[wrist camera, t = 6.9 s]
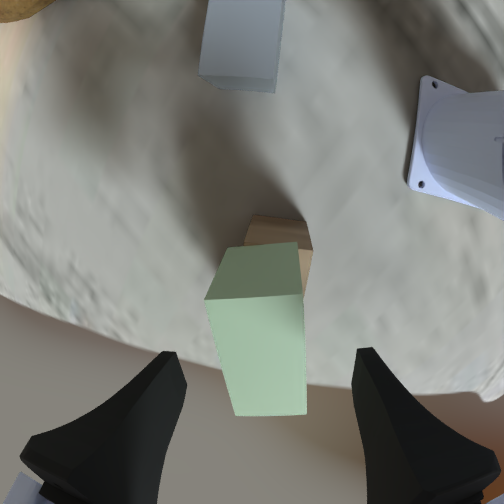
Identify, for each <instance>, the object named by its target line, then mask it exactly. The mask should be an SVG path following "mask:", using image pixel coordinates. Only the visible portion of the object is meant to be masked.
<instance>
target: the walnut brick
mask: <svg viewBox="0 0 504 504" xmlns="http://www.w3.org/2000/svg"><path fill="white" fill-rule="evenodd" d="M287 242H297V245H298V253H299V262H300V271H301V280H302V289H303V298H304V294H305V289H306V284H307V279H308V275H309V270H310V265H311V260H312V255H313V248H312V243H311V239H310V235H309V231H308V227H307V223H306V222H305V221H298V220H291V219H283V218H276V217H268V216H260V215H253V217H252V219H251V222H250V225H249V228H248V231H247V234H246V237H245V240H244V244H243V246H252V245H264V244H275V243H287Z"/></svg>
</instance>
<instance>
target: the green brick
mask: <svg viewBox="0 0 504 504" xmlns="http://www.w3.org/2000/svg"><path fill="white" fill-rule="evenodd" d="M204 302H205V306H206V310H207V314H208V318H209V322H210V326H211V330H212V334H213V338H214V341H215V345H216V349H217V353H218V356H219V360H220V364H221V367H222V371H223V374H224V377H225V381H226V385H227V388H228V391H229V395H230V399H231V402H232V405H233V409H234V412H235V415H236V416H280V415H281V416H283V415H302V414H307V409H306V408H307V405H306V404H307V401H306V400H307V399H306V352H305V325H304V304H303V289H302V280H301V271H300V262H299V253H298V245H297V242H287V243H275V244H264V245H252V246H240V247H229V248H227V250H226V252H225V254H224V257H223V259H222V261H221V263H220V266H219V268H218V270H217V272H216V274H215V277H214V279H213V281H212V283H211V286H210V288H209V290H208V292H207V295H206V297H205V299H204Z"/></svg>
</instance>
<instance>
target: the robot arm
mask: <svg viewBox="0 0 504 504" xmlns="http://www.w3.org/2000/svg"><path fill="white" fill-rule="evenodd" d="M432 82H434V83H435V85H436V87H435V88H434V87H433V86H432ZM420 181H422V186H421V187H419V186H418V183H419V182H420ZM407 185H408V187H409V188H410V189H412V190H415V191H419V192H423V193H427V194H431V195H435V196H438V197H442V198H446V199H449V200H453V201H456V202H460V203H463V204H467V205H470V206H473V207H476V208H480V209H483V210H485V211H486V212H488V213H490V214H492V215H494V216H496V217H497V218H499V219H501V220H503V221H504V90H501V91H487V92H476V93H468V92H466V91H464V90H462V89H459V88H457V87H455V86H453V85H450V84H448V83H446V82H443V81H441V80H438V79H436V78H433V77H431V76H427V75H426V76H423V77H422V78H421V80H420V91H419V102H418V112H417V120H416V128H415V136H414V143H413V149H412V155H411V161H410V167H409V172H408V178H407ZM351 385H352V394H353V402H354V408H355V412H356V417H357V421H358V426H359V430H360V434H361V439H362V443H363V448H364V455H365V463H366V476H367V504H481V501H480V500H482V499H483V497H484V496H483V492H482V490H483V489H485V488H486V487H487V486H488V485H489V484H491V483H492V482H493V481H494V480H495V479H496V478H497V477H498V476H499V475H500V473H501V469H500V466H499V463H498V460H497V457H496V455H495V453H494V451H492V450H490V449H488V448H486V447H484V446H481V445H479V444H477V443H475V442H473V441H471V440H469V439H467V438H466V437H464V436H462V435H460V434H459V433H457V432H456V431H454V430H453V429H451V428H450V427H448V426H447V425H445V424H444V423H443V422H441V421H440V420H439V419H437V418H436V417H435V416H434V415H433V414H431V413H430V412H429V411H428V410H427V409H425V407H423V406H422V405H421V404H420V403H419V402H418V401H417V400H416V399H415V398H414V397H413V396H412V395H411V394H410V393H409V391H408V390H407V389H406V388H405V387H404V386H403V385H402V384H401V382H400V381H399V380H398V379H397V378H396V377H395V375H394V374H393V373H392V372H391V371H390V369H389V368H388V367H387V365H386V364H385V363H384V362H383V360H382V359H381V358H380V356H379V355H378V354H377V352H376V351H375V349H374V348H373V347H368V348H359V349H357V353H356V359H355V366H354V371H353V377H352V383H351ZM186 389H187V383H186V380H185V377H184V374H183V371H182V369H181V366H180V363H179V360H178V357H177V354H176V352H170V351H162V352H161V353H160V354H159V355H158V356H157V357H156V358H155V359H153V360H152V362H150V363H149V364H148V365H147V366H146V367H145V368H144V369H143V370H142V371H141V372H140V373H139V374H138V375H137V376H136V377H134V378H133V379H132V380H131V381H130V382H129V383H128V384H127V385H126V386H124V387H123V388H122V389H121V390H119V391H118V392H117V393H116V394H115V395H113V396H112V397H111V398H110V399H108V400H107V401H105V402H104V403H103V404H101V405H100V406H98V407H97V408H95V409H94V410H92V411H90V412H89V413H87V414H85V415H83V416H81V417H80V418H78V419H76V420H74V421H72V422H70V423H68V424H66V425H63V426H61V427H58V428H56V429H53V430H50V431H47V432H44V433H41V434H37V435H34V436H32V437H31V438H30V440H29V441H28V443H27V445H26V446H25V448H24V449H23V451H22V453H21V454H20V459H21V461H22V462H23V463H24V464H25V465H27V467H28V468H30V469H31V470H32V471H33V472H34V473H35V474H37V475H38V476H39V477H40V478H41V479H43V480H44V483H43V485H41V484H40V483H38V482H36V481H35V480H33V479H32V478H30V477H29V476H27V475H26V474H24V473H22V472H20V473H19V475H18V476H17V478H16V480H15V482H14V483H13V485H12V487H11V489H10V491H9V493H8V495H7V497H6V499H5V500H4V502H3V504H157V498H158V491H159V485H160V479H161V473H162V468H163V464H164V460H165V455H166V452H167V449H168V445H169V443H170V440H171V437H172V435H173V432H174V429H175V426H176V424H177V421H178V418H179V415H180V413H181V410H182V407H183V403H184V399H185V394H186ZM486 504H504V494H503V495H501V496H499V497H497V498H495V499H494V500H491V501H489V502H488V503H486Z"/></svg>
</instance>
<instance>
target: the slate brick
mask: <svg viewBox="0 0 504 504" xmlns="http://www.w3.org/2000/svg"><path fill="white" fill-rule="evenodd" d="M285 1H286V0H209V3H208V9H207V15H206V21H205V27H204V34H203V40H202V47H201V54H200V62H199V70H198V76H200V77H201V78H203V79H205V80H206V81H208V82H209V83H211V84H212V85H214V86H215V87H217V88H218V89H232V90H246V91H258V92H268V93H275V90H276V82H277V73H278V64H279V55H280V46H281V37H282V29H283V20H284V10H285Z"/></svg>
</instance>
